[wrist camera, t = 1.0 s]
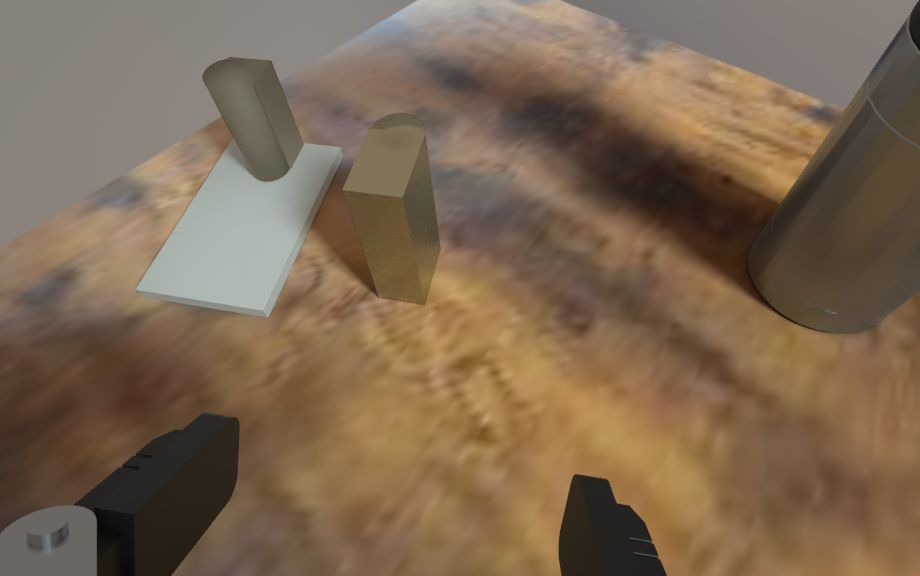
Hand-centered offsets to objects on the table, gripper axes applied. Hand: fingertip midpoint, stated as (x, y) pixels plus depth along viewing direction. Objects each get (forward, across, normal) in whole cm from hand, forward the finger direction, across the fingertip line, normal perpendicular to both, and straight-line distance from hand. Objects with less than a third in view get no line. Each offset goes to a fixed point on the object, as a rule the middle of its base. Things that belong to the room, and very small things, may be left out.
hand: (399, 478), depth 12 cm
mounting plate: (+30, +17, 0) cm, 35 cm away
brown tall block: (+26, +4, +1) cm, 27 cm away
